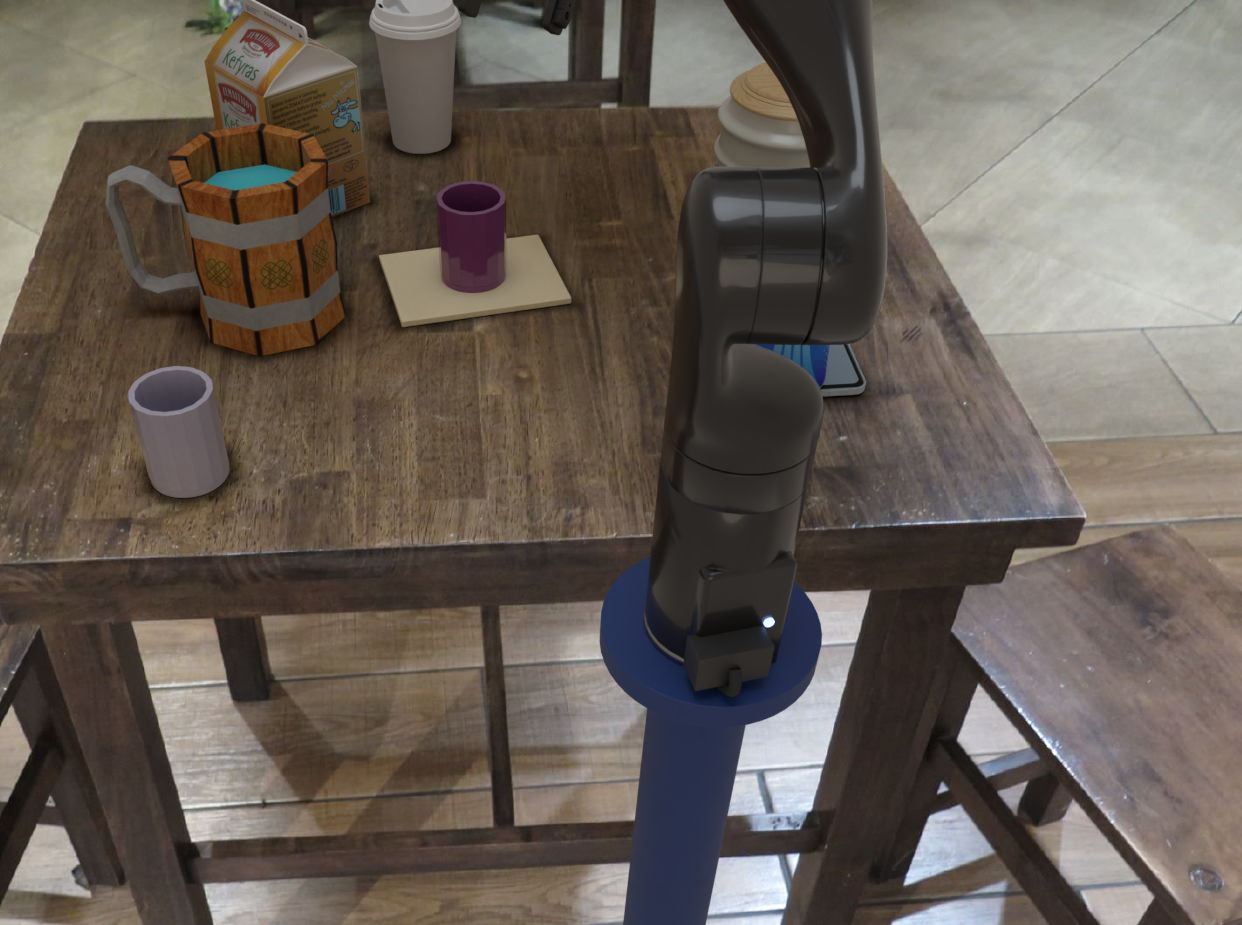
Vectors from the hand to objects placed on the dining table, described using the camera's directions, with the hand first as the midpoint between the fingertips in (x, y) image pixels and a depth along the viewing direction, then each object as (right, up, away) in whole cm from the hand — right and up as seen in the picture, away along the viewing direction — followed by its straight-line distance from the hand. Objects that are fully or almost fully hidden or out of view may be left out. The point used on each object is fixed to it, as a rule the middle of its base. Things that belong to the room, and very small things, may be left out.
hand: (508, 23), depth 105 cm
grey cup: (-25, -38, -5) cm, 46 cm away
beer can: (+23, -30, +3) cm, 38 cm away
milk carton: (-22, -7, +26) cm, 35 cm away
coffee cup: (-10, +3, +36) cm, 37 cm away
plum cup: (-3, -18, +14) cm, 23 cm away
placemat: (-3, -18, +15) cm, 23 cm away
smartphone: (+26, -26, +7) cm, 37 cm away
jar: (+26, -11, +22) cm, 36 cm away
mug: (-25, -22, +11) cm, 35 cm away
